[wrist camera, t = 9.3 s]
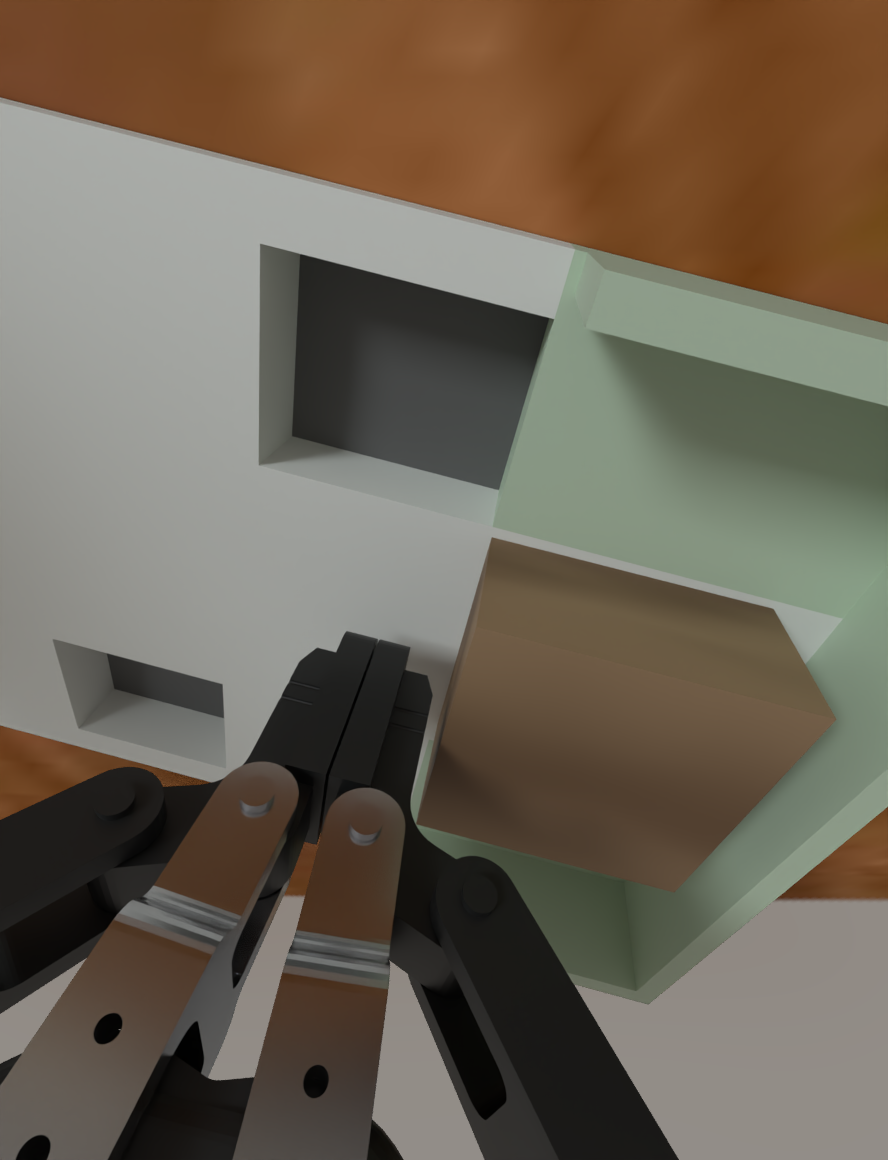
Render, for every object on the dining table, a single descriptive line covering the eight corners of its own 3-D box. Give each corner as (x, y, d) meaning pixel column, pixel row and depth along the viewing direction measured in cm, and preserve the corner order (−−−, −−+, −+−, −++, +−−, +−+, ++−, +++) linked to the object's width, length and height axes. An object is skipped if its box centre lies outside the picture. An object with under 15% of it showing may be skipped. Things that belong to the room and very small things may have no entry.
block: (491, 537, 11) (476, 627, 9) (773, 608, 11) (836, 719, 9) (437, 722, 15) (415, 824, 12) (652, 778, 15) (674, 892, 12)
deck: (-261, 31, 10) (-807, -92, 6) (998, 353, 10) (1316, 451, 6) (-10, 668, 20) (-154, 786, 16) (627, 839, 20) (648, 1004, 16)
